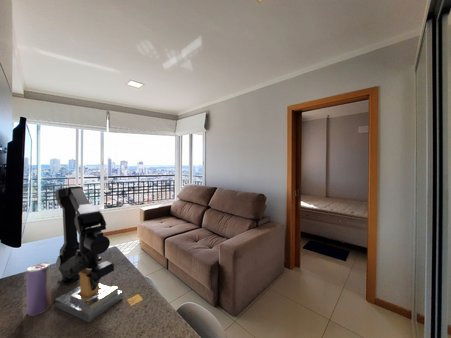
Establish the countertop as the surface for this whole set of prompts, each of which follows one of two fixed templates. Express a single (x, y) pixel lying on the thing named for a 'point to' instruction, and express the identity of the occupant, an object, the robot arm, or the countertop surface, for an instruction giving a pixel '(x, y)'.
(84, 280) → the wedge pin
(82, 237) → the robot arm
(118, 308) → the countertop surface
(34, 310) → the beverage can
